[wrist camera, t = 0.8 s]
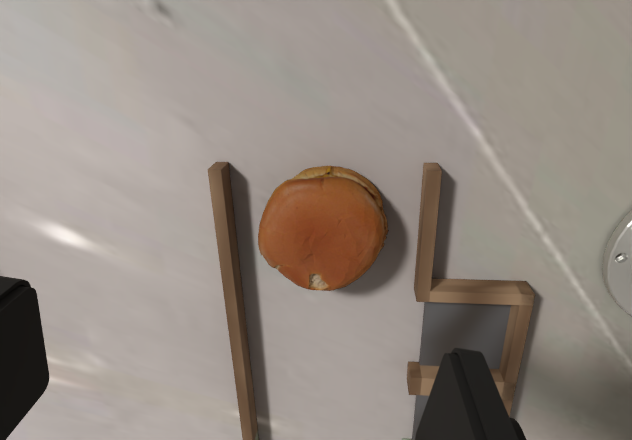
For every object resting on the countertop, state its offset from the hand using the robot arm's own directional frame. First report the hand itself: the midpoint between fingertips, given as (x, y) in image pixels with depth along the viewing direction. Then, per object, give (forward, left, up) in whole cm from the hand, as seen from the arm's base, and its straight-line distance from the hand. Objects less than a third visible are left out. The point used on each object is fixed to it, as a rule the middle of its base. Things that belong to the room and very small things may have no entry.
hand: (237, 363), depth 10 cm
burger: (0, +7, -25) cm, 26 cm away
